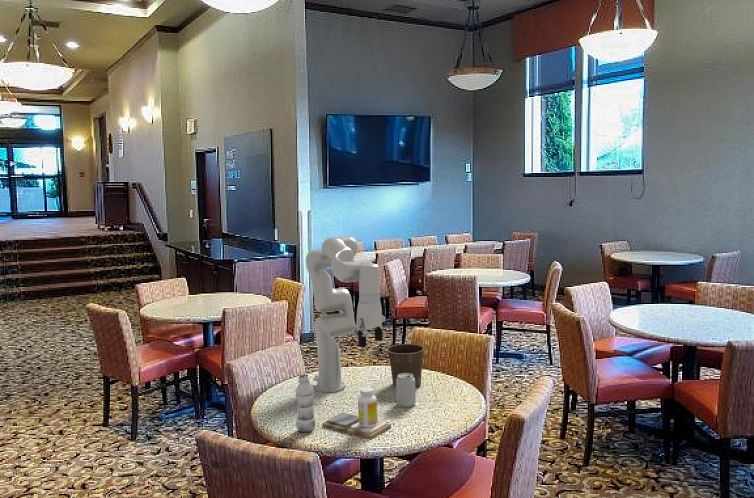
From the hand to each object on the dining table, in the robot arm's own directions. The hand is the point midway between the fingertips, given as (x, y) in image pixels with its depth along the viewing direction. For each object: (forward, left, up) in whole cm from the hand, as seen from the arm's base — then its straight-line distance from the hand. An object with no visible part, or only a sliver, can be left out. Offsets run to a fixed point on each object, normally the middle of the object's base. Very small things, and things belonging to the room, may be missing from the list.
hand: (370, 343), depth 227 cm
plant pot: (-10, +38, -29) cm, 49 cm away
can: (+3, +18, -29) cm, 34 cm away
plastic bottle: (-14, -22, -29) cm, 39 cm away
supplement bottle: (+5, -10, -27) cm, 29 cm away
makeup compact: (0, -10, -29) cm, 30 cm away
